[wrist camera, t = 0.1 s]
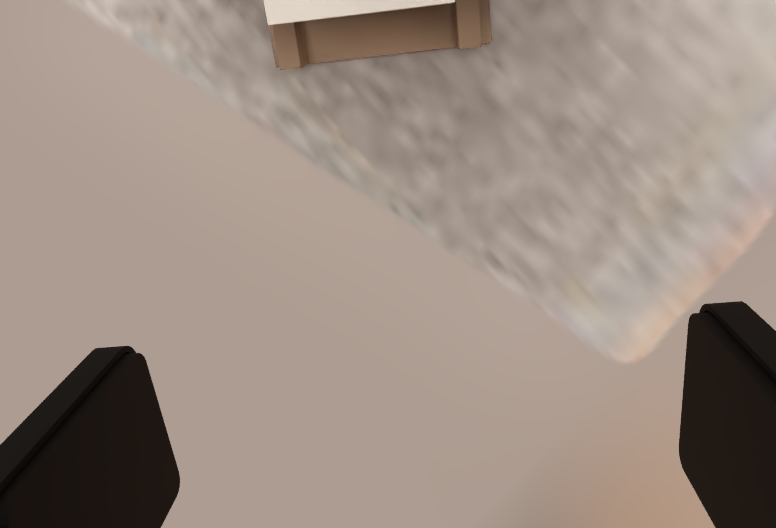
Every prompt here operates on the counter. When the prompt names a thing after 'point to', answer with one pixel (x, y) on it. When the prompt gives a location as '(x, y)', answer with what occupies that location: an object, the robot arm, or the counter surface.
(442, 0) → the rectangular block
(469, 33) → the wooden crate tray
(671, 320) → the counter surface
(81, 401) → the robot arm
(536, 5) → the counter surface
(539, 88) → the counter surface
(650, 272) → the counter surface
